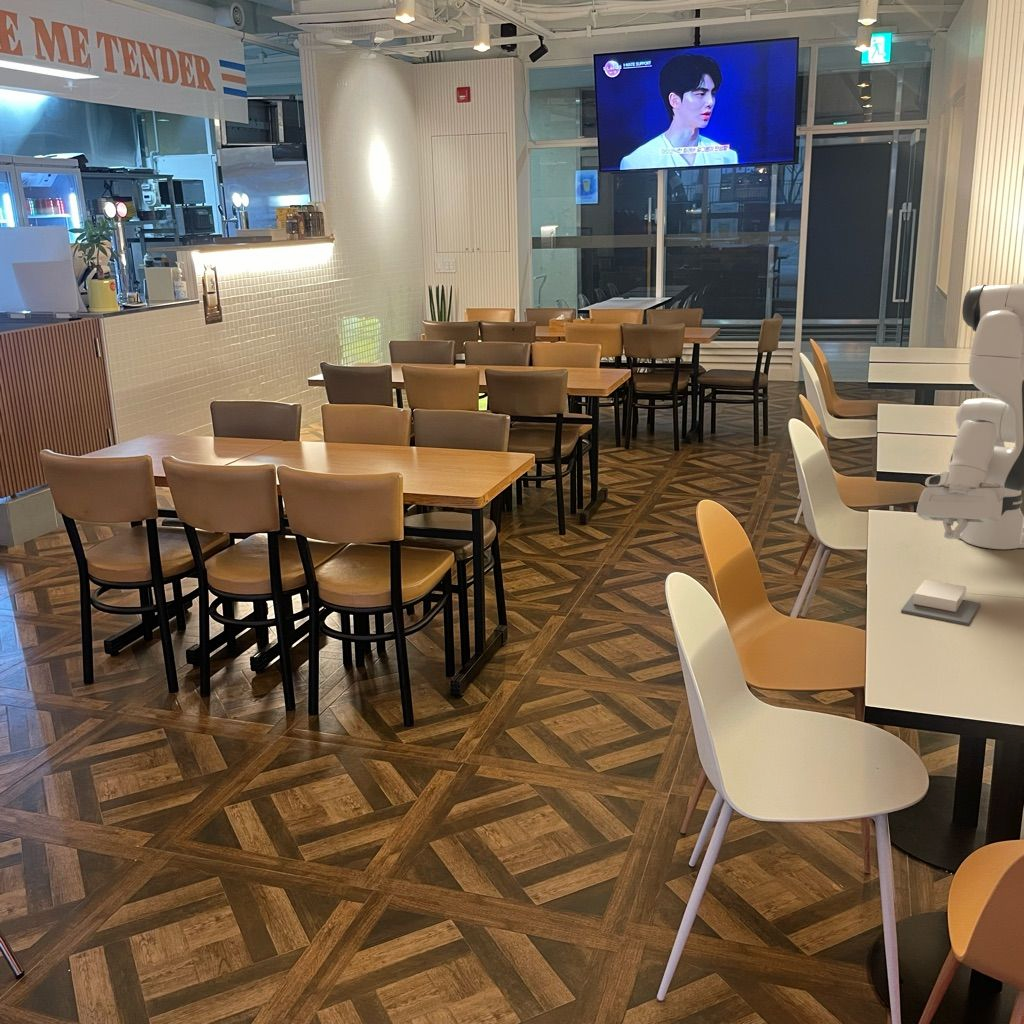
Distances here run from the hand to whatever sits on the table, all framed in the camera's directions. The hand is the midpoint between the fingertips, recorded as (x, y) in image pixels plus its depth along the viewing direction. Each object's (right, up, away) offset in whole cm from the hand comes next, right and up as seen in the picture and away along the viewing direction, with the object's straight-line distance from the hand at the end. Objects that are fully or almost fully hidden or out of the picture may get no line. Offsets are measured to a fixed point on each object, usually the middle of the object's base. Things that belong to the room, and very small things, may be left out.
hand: (951, 538), depth 233 cm
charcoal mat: (-7, -16, -10) cm, 20 cm away
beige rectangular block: (-3, -11, -3) cm, 12 cm away
